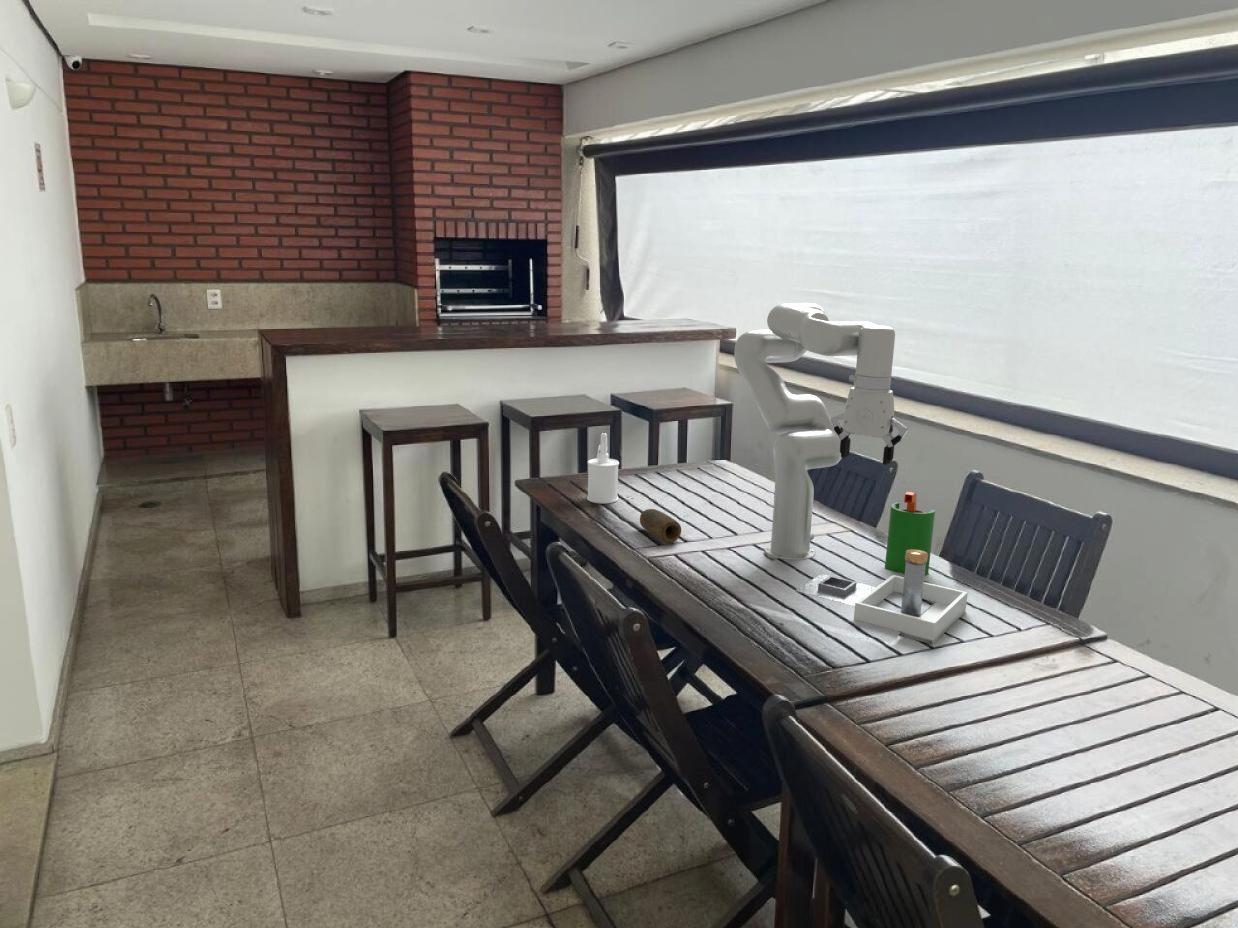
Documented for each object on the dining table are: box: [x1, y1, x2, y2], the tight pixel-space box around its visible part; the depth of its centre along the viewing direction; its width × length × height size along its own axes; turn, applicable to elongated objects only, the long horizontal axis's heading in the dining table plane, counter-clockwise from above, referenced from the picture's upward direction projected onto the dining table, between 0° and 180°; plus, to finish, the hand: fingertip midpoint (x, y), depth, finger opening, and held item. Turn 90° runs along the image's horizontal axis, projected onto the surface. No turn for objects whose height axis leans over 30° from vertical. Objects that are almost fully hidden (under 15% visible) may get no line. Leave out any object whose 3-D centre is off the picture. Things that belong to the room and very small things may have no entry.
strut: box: [900, 550, 928, 617], centre depth 203 cm, size 4×4×14 cm
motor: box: [884, 491, 936, 576], centre depth 231 cm, size 10×9×20 cm
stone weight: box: [639, 508, 682, 544], centre depth 254 cm, size 15×7×7 cm, turn 27°
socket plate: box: [794, 573, 877, 607], centre depth 217 cm, size 14×14×2 cm
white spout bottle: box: [586, 432, 620, 504], centre depth 285 cm, size 10×9×20 cm
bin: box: [853, 574, 969, 645], centre depth 205 cm, size 22×17×4 cm
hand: (865, 460), depth 213 cm, fingers open, 9 cm apart
